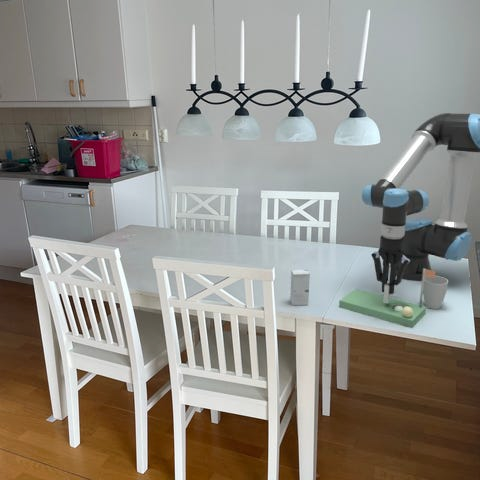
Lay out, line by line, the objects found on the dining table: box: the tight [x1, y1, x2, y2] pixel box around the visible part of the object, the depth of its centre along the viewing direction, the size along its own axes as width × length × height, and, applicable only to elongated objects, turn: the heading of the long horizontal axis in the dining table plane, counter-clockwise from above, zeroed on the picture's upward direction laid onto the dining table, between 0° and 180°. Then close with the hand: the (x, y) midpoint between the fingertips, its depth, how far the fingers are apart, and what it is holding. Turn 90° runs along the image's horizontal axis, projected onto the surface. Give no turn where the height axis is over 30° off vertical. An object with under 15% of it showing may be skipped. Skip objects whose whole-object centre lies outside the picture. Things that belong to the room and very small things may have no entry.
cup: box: [422, 275, 449, 310], centre depth 170 cm, size 8×8×10 cm
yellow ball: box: [402, 306, 413, 317], centre depth 158 cm, size 3×3×3 cm
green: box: [338, 288, 427, 328], centre depth 169 cm, size 26×13×2 cm, turn 51°
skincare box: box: [289, 269, 311, 306], centre depth 174 cm, size 6×4×12 cm
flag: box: [418, 268, 436, 308], centre depth 162 cm, size 1×4×14 cm, turn 52°
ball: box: [394, 306, 403, 311], centre depth 165 cm, size 3×3×3 cm
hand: (386, 301), depth 167 cm, fingers closed
